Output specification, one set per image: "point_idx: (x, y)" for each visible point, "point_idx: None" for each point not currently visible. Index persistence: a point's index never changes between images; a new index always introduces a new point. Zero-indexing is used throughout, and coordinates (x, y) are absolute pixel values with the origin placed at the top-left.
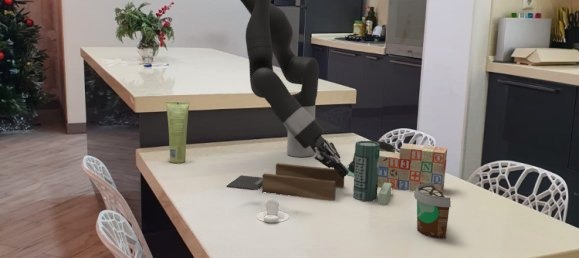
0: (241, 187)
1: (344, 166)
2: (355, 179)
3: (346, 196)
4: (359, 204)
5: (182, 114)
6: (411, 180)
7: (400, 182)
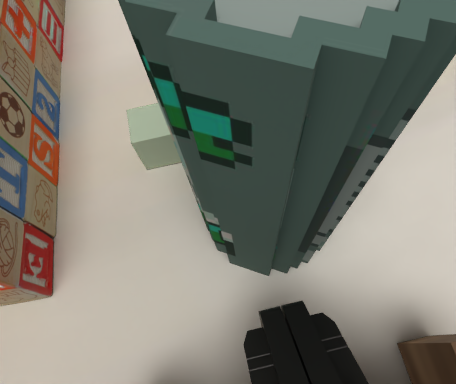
0: None
1: (272, 352)
2: (342, 215)
3: (307, 307)
4: (379, 195)
5: None
6: (34, 55)
7: (38, 112)
